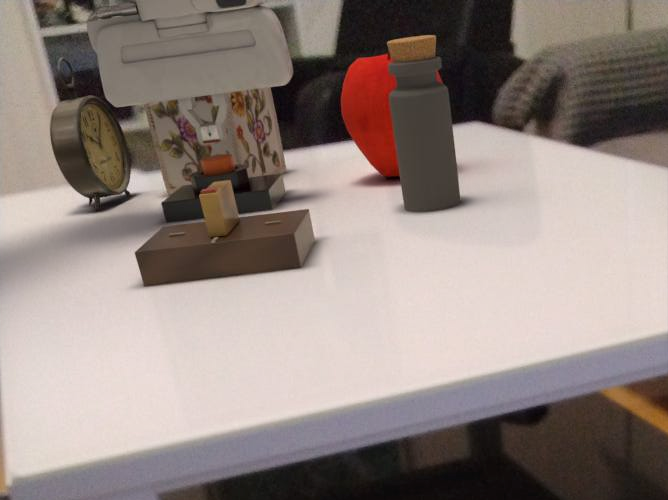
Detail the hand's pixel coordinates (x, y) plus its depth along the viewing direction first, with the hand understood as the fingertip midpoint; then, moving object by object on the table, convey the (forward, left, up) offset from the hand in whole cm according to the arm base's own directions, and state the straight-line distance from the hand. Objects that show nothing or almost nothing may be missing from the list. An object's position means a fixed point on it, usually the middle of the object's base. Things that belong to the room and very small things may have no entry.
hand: (213, 142), depth 113 cm
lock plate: (+6, -28, -7) cm, 30 cm away
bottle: (+24, -13, -7) cm, 28 cm away
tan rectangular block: (+6, -28, -4) cm, 29 cm away
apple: (+20, +6, -7) cm, 22 cm away
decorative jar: (-3, +16, -7) cm, 18 cm away
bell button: (0, 0, -3) cm, 3 cm away
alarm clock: (-18, +12, -7) cm, 23 cm away
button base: (0, 0, -7) cm, 7 cm away
